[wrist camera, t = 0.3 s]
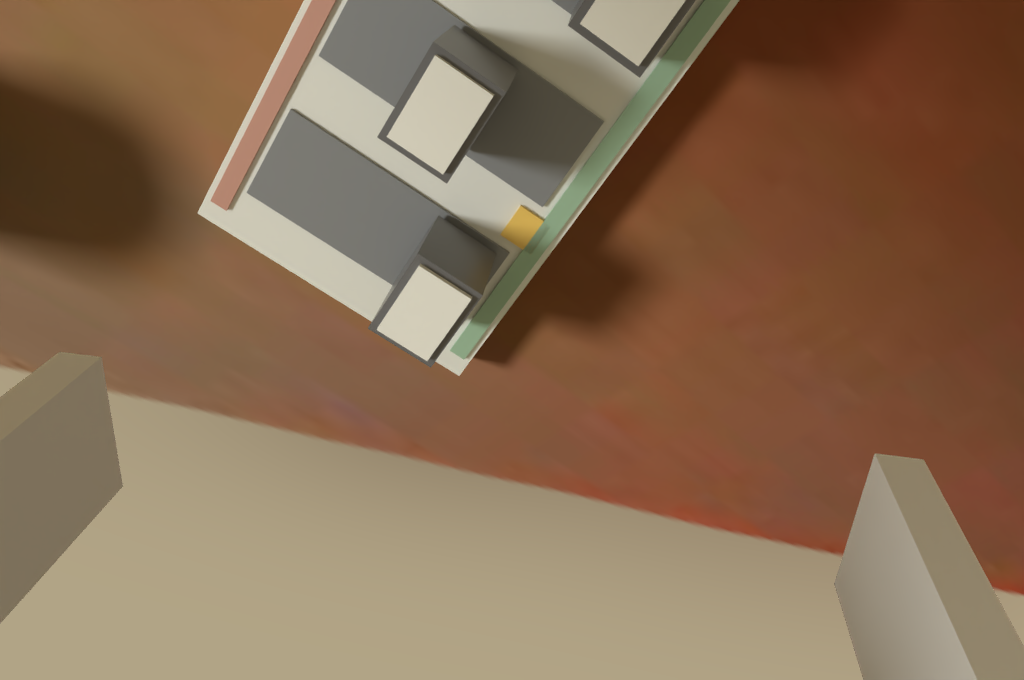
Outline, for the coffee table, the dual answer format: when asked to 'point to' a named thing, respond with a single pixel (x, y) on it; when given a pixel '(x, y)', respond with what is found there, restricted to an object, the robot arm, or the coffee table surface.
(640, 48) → the block
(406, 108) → the block
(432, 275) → the block
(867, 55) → the coffee table surface
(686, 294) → the coffee table surface
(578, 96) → the panel
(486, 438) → the coffee table surface
